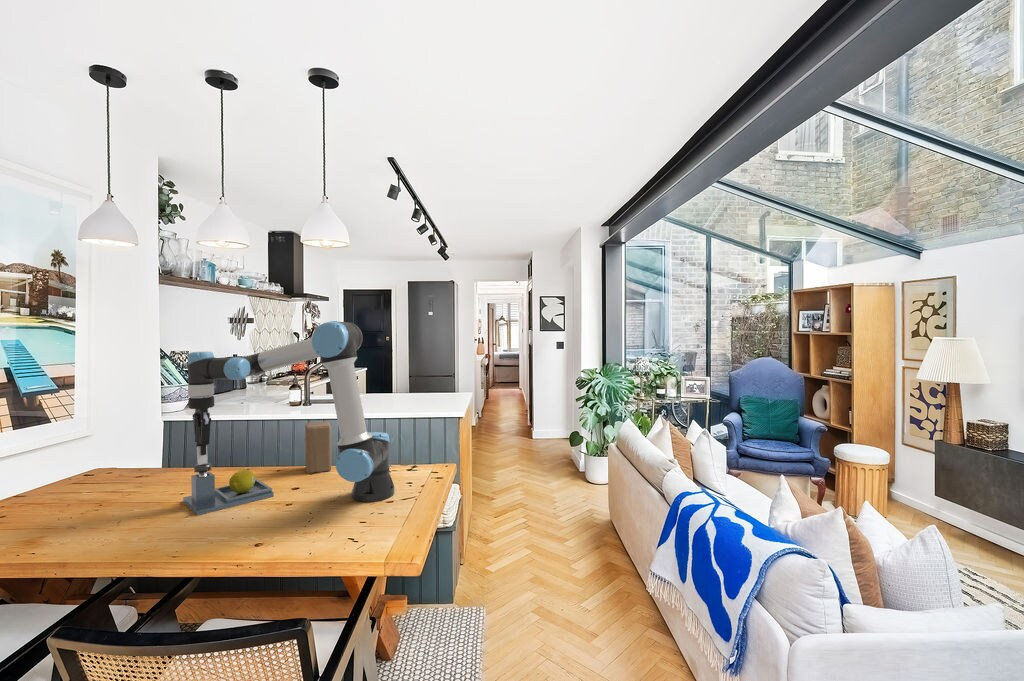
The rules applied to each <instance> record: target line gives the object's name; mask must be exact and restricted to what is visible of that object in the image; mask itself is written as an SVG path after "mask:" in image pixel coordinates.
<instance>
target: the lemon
mask: <svg viewBox="0 0 1024 681" xmlns="http://www.w3.org/2000/svg"><path fill="white" fill-rule="evenodd" d="M255 480H256V475H255V473H254V472H253V471H251V470H249V469H241V470H239V471H236V472H235V473H234V474H232V475H231V477H230V479H229V483H228V484H229V485H228V486H230V488H231V490H232V491H234V492H236V493H245V492H247V491H249V490H250V489H251V488H252V487H253V485H254V483H255Z"/></svg>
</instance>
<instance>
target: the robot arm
mask: <svg viewBox="0 0 1024 681" xmlns="http://www.w3.org/2000/svg"><path fill="white" fill-rule="evenodd" d="M361 330H362V329H360V327H358V325H356V324H355V323H353V322H349V321H337V320H334V321H333V320H332V321H331V320H330V321H326V322H323V323H321V324H319V325H318V326H317V327H316V328H315V329H314V331H313V332H312V335H311V337H310V338H307V339H303V340H299V341H296V342H293V343H289V344H286V345H283V346H282V345H281V346H279V347H276V348H275V347H274V348H271V349H268V350H265V351H261V352H257V353H253V354H250V355H244V356H241V355H240V356H233V357H215V355H214V352H212V351H192V352H189V353H188V355H187V363H186V364H187V365H186V366H187V378H188V379H187V380H188V382H187V396H188V399H187V400H188V405H187V406H188V409H191V410H194V412H193V414H192V420H193V432H194V442H195V444H196V445H195V446H196V455H197V457H196V458H197V459H196V460H197V461H196V462H197V463H196V464H198V465H202V464H207V463H208V462H209V461H208V445H210V436H211V425H212V424H211V423H212V417H211V413H210V412H209V410H208V409H210V408H214V407H215V397H214V396H213V395H214V394H215V389H216V388H217V387H216V385H214V384H215V380H232V381H237V380H245V379H247V377H251V376H258V375H259V376H260V375H262V374H264V373H266V372H270V371H274V370H277V369H282V368H284V367H288V366H292V365H296V364H299V363H303V362H305V361H311V360H314V359H316V358H317V359H318V358H320V363H321V365H322V366H323V367H325V368H326V369H327V373H328V378H329V384H330V388H331V392H332V393H331V394H332V398H333V399H332V400H333V402H334V408H335V415H336V420H337V425H338V429H339V430H338V431H339V434H340V438H339V440H338V441H337V444H336V445H337V450H338V455H337V457H336V459H335V460H336V461H335V470H336V472H337V474H338V475H339V476H340V477H341V479H343V480H346V481H348V482H351V483H353V485H352V490H351V498H352V499H353V500H355V501H357V502H363V503H364V502H365V503H366V502H379V501H382V500H386V499H389V498H391V497H392V496H394V494H395V485H394V481H393V479H392V476H391V473H390V442H391V441H390V436H389V435H390V434H389V433H387V432H381V431H380V432H379V431H375V432H374V431H372V432H368V430H367V425H366V421H365V420H366V419H365V414H364V409H363V405H362V399H361V394H360V389H359V384H358V378H357V374H356V373H357V372H356V367H355V362H356V361H357V360H358V355H357V354H358V353H357V351H358V350H360V347H361V346H362V344H363V339H364V336H363V333H362V331H361Z"/></svg>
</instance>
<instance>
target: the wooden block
mask: <svg viewBox="0 0 1024 681" xmlns="http://www.w3.org/2000/svg"><path fill="white" fill-rule="evenodd" d="M304 426H305V427H304V429H305V430H304V431H305V432H304V435H305V438H304V440H305V473H307V474H314V473H315V472H316V473H323V472H330V471H331V470H332V426H331V424H330V421H318V422H316V421H315V422H307V423H305V425H304Z"/></svg>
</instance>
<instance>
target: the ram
mask: <svg viewBox="0 0 1024 681" xmlns="http://www.w3.org/2000/svg"><path fill="white" fill-rule="evenodd" d="M211 470H212V463H211V462H209V461H208V463H207V464H202V465H198V464H197V463H195V464H194V465H193V472H194V473H198V474H199V477H204V476H207V472H210V471H211Z"/></svg>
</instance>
